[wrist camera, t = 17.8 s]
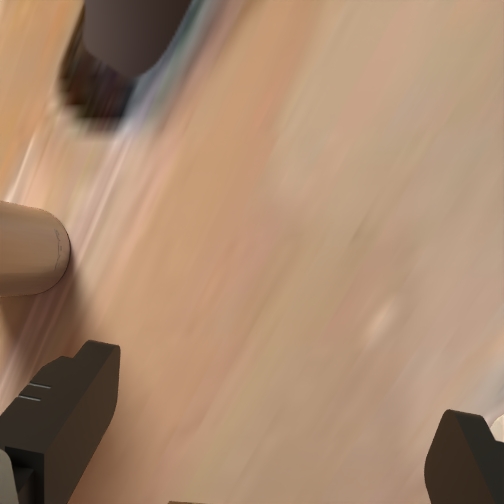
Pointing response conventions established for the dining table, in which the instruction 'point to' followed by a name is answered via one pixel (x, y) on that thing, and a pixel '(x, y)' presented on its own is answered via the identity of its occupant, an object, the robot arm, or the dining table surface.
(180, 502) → the frame
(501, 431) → the white cup
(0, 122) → the dining table surface
